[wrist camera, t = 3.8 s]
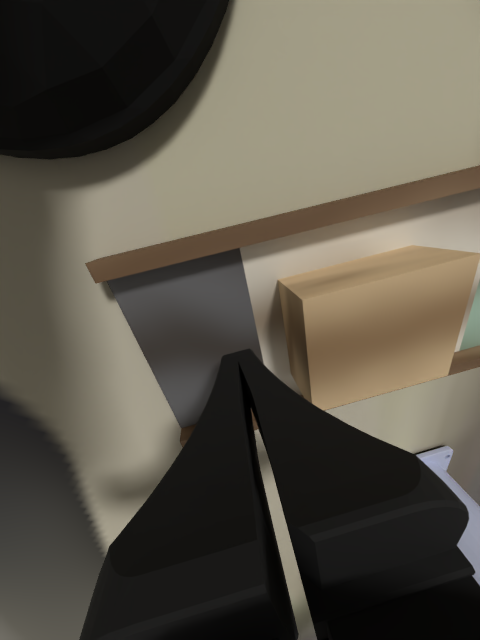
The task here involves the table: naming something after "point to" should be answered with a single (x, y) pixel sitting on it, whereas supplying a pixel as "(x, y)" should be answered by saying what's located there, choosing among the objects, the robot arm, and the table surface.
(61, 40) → the sculpture
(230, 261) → the channel
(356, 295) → the oak block
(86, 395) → the table surface
